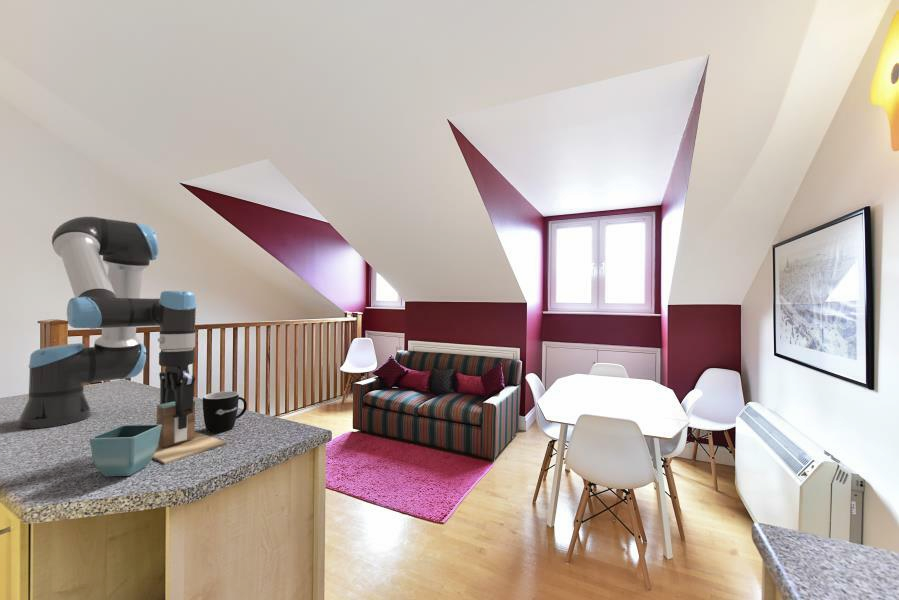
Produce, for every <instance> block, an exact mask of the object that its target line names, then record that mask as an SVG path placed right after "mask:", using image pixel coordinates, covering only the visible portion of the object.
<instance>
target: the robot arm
mask: <svg viewBox="0 0 899 600" xmlns="http://www.w3.org/2000/svg"><path fill="white" fill-rule="evenodd" d="M51 237H52V238H51V244H52V248H53V250H54V253H55V254H56V255H57V256H59V257H60V258H61V259H62V262H63V265H64V268H65V271H66V274H67V277H68V281H69V283H70V287H71V290H72V292H73V293H72V294H73V297H72V298H70V299H69V300H68V303H67V307H66V317H67V323H68V326H70V328H71V327H72V328H74V329H91V330H92V329H94V330H95V329H101V336H99V337H98V338H96V339H95V340H94V343H93V345H94V346H92V347H91V346H90V347H88V346H87V347H86V344H85V343H82V342H81V343H68V344H60V345H55V346H49V347H48V346H47V347H43V348H40V349H36V350H34V351H33V352H32V353H30V355H29V363H28V368H29V373H28V374H29V379H28V400H27V402H26V404H25V406H24V408H23V411H22V413H21V414H20V417H19V418H18V419H19V420H18V427H19V428H22V429H41V428H49V427H57V426H64V425H69V424H73V423H76V422H80V421H83V420H86V419H87V418H90V417H91V413H92V412H91V411H92V409H91V407H90V404H89V402H88V399H87V397H86V395H85V393H84V385H85V384H90V383H98V382H99V383H100V382H107V381H108V382H109V381H117V380H125V379H129V378H134V377H136V376H138V375H139V374H140V373H142V371H143V369H144V367H145V364H146V359H147V354H146V353H147V349H146V346H145V344H142V343H141V339H139V338H138V337H137V336H136V334H137V328H139V327H159V337H158V338H157V341H158V342H159V349H160V352H158V365H159V366H160V367H165V370H164V371H162V372H159V373H158V375H159V380H160V381H159V382H160V388H159V391H160V394H159V396H160V397H159V405H160V404H165V403H170V402H175V406H176V415H173V417H174V443H176V442H180V441H183V440H187V415H188V414H190V413H193V401H194V395H195V394H194V393H195V391H194V389H195V388H194V386H195V382H196V375H190V371H189V366H190V365H192V364H194V363H196V362H195V360H196V358H195V357H196V356H195V355H196V354H195V353H196V351H195V349H194V348H195V347H196V313H197V312H196V308H197V303H196V301H197V300H196V294H195V292H193V291H187V290H185V291H184V290H181V291H180V290H164V291H163V290H162V291H161V292H160V297H159V298H140V297H141V289H142V279H143V271H144V270H145V269H146V268H148V267H149V266H150V261H155V260H156V259H158V255H159V240H158V236H157V233H156V231H155V230H154V229H153V228H152V227H151V226H149V225H147V224H141V223H137V222H131V221H125V220H117V219H110V218H109V219H108V218H104V217H97V216H79V217H75V218H71V219H69V220H67V221H65V222H63V223H62V224H60V225H59V226H58V227H57V228H56V230H55V231H54V232H53V234H52V236H51ZM101 256H102V258H101ZM103 262H104V263H103ZM104 264H106V265H107V267H108V268H107V271H106V268H105V265H104Z"/></svg>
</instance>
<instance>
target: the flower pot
mask: <svg viewBox="0 0 899 600" xmlns="http://www.w3.org/2000/svg"><path fill="white" fill-rule="evenodd" d="M161 426H162V425H157V424H125V425H120V426H117V427H115V428H113V429H110V430H107V431H104V432H102V433H99V434H97V435H93V436H91V437H90V438H89V443H90V451H91V455H92V456H91V457H92V462H93V464H94V466H95V467H96V469H97V470H98V471H99V473H100V474H102V475H103V476H104V477H128V476H132V475H134V474H135V473H137V472H139V471H141V470H142V469H144V468H146V467H147V466H148V465H149V463H150V462H151V461H152V458H153V456H154V454H155V452H156V449H157V447H158V442H159V437H160V432H161Z"/></svg>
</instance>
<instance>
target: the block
mask: <svg viewBox="0 0 899 600" xmlns="http://www.w3.org/2000/svg"><path fill="white" fill-rule="evenodd" d="M173 415H176V406H175V402H170V403H165V404H160V403H159V404H157V405H156V425H162V426H161V432H160V437H159V442H158V445H159V446H162V447H167V446H170V445H173V444H177V443H180V442H184V441H187V440H191V439H194V438H195V432H196V430H195V427H196V425H195V424H196V421H195V420H196V400H193V413H190V414H188V415H187V440H183V441H180V442H176V443H174V417H173Z"/></svg>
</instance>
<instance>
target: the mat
mask: <svg viewBox="0 0 899 600" xmlns="http://www.w3.org/2000/svg"><path fill="white" fill-rule="evenodd" d="M225 445H228V442H227V441H225V440H221V439H220V438H219V439H218V438H216V437H214V436H210V435H207V434H204V433H201V432H198V431H195V438H194V439H191V440H187V441H184V442H180V443H177V444H173V445H170V446H167V447H162V446H159V445H158V447H157V449H156V452H155V454H154V456H153V458H152V459H153V460H155V461H157V462H159V463H162V464H163V465H166V464H170V463H173V462H176V461H178V460H182V459H186V458H188V457H191V456H195V455H197V454H200V453H203V452H206V451H210V450H212V449H216V448H219V447H222V446H225ZM152 459H151V460H152Z"/></svg>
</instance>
